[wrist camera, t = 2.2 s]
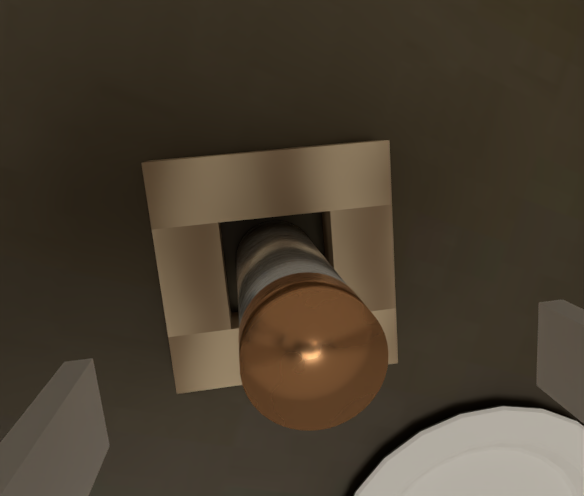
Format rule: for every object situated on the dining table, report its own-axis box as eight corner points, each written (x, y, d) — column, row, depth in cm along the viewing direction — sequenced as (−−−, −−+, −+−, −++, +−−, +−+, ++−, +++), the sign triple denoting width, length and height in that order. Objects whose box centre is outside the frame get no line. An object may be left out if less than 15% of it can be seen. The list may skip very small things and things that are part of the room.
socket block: (181, 371, 28) (177, 393, 25) (149, 160, 25) (141, 162, 23) (383, 344, 29) (398, 363, 26) (374, 140, 26) (389, 140, 24)
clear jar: (239, 302, 27) (247, 440, 15) (230, 223, 26) (231, 300, 14) (317, 292, 28) (391, 419, 15) (311, 215, 27) (385, 281, 14)
